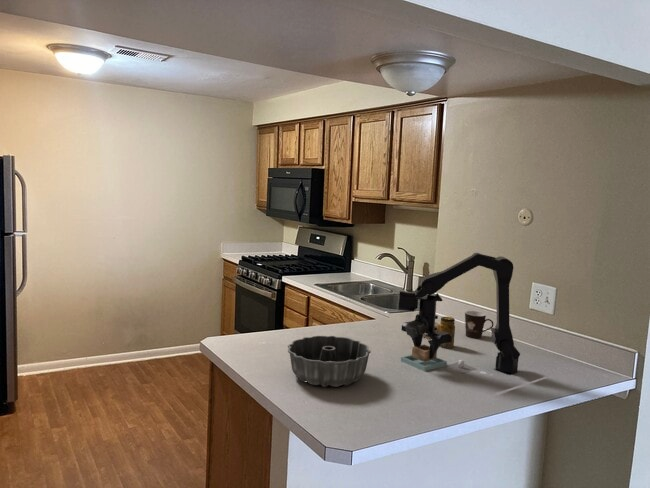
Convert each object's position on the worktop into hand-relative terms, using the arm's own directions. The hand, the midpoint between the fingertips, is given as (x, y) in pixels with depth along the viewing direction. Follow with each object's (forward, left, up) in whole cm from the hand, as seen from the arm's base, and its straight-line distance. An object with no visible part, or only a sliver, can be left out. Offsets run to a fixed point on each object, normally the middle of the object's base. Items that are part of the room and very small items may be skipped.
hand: (424, 355), depth 182 cm
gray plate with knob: (-9, -8, -3) cm, 13 cm away
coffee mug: (+13, -45, -4) cm, 47 cm away
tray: (0, 0, -3) cm, 3 cm away
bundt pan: (+8, +37, -4) cm, 38 cm away
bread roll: (+23, -30, -4) cm, 38 cm away
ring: (0, 0, -1) cm, 1 cm away
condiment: (+9, -22, -4) cm, 24 cm away
